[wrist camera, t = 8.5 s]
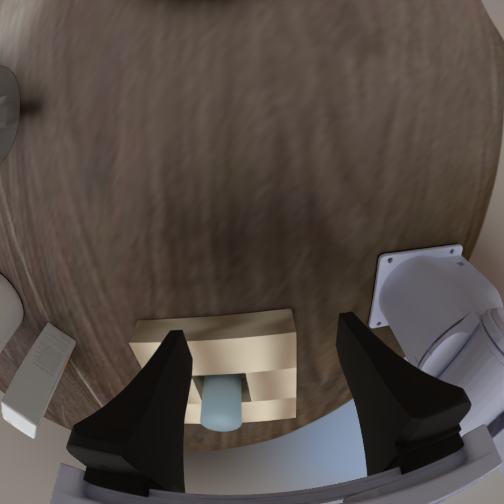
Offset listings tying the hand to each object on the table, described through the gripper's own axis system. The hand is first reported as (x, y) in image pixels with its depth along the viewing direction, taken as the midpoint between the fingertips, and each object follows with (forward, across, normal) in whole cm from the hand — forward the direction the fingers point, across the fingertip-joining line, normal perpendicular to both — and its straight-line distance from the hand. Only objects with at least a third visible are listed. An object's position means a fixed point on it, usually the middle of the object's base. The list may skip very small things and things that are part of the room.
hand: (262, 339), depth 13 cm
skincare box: (+10, +24, +10) cm, 28 cm away
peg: (+10, +4, +13) cm, 17 cm away
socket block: (+10, +4, +14) cm, 17 cm away
